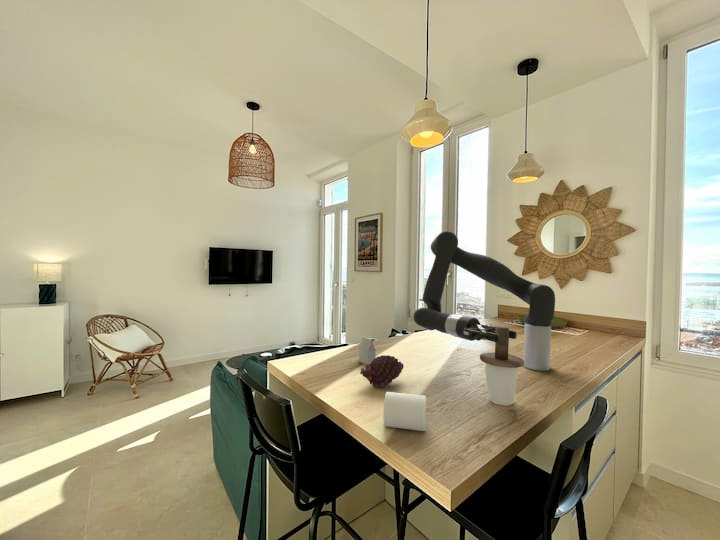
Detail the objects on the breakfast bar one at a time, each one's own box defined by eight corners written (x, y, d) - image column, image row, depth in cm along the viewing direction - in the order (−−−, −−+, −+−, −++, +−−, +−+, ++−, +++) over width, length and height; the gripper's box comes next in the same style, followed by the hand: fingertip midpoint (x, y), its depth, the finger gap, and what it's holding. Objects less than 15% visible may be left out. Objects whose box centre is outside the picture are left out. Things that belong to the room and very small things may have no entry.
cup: (479, 394, 98) (481, 356, 98) (509, 395, 97) (510, 356, 97) (490, 407, 89) (492, 365, 88) (523, 408, 88) (524, 366, 88)
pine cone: (393, 375, 113) (394, 347, 112) (413, 384, 105) (414, 354, 104) (353, 385, 102) (354, 355, 102) (372, 396, 94) (373, 364, 94)
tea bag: (367, 366, 122) (367, 340, 122) (358, 361, 128) (359, 336, 128) (375, 364, 124) (375, 339, 124) (366, 359, 130) (367, 336, 130)
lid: (497, 353, 101) (498, 322, 101) (533, 364, 90) (534, 329, 90) (471, 357, 95) (472, 325, 95) (505, 370, 85) (506, 333, 85)
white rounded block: (425, 438, 73) (426, 404, 72) (382, 432, 75) (383, 399, 74) (425, 413, 84) (426, 384, 84) (388, 409, 86) (389, 381, 86)
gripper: (448, 317, 101) (493, 326, 87) (476, 314, 109) (521, 322, 95) (447, 340, 101) (492, 353, 88) (475, 335, 109) (520, 346, 95)
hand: (507, 337), depth 91 cm, fingers open, 8 cm apart
